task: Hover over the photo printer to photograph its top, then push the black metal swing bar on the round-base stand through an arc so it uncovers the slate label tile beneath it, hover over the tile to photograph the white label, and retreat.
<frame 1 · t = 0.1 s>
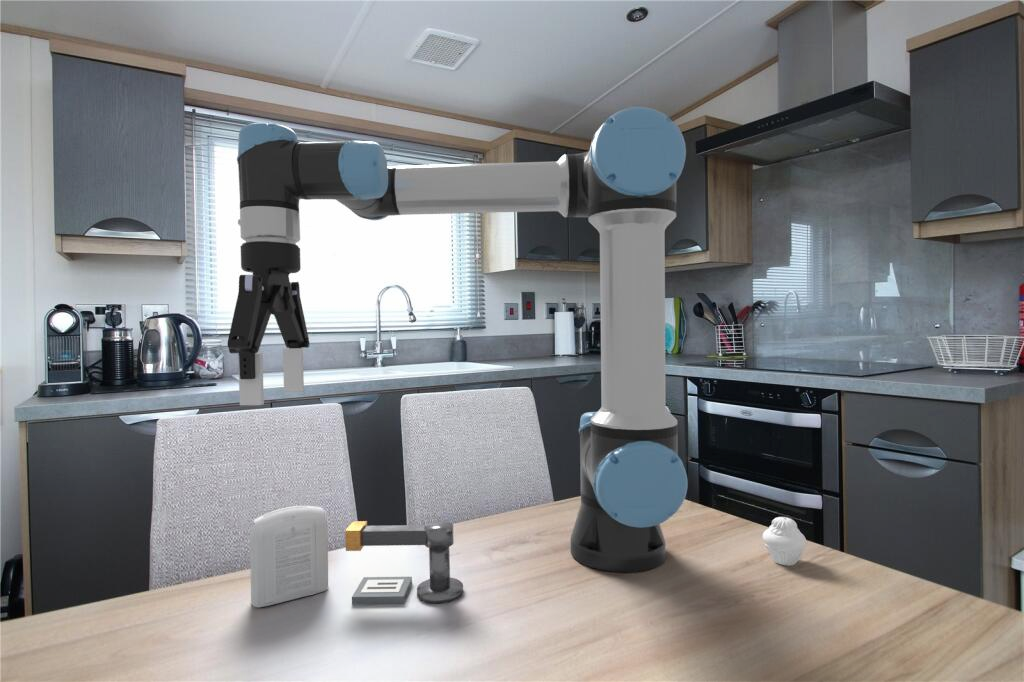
hand: (274, 398, 79), 28 cm above the table, fingers open, 13 cm apart
photo printer: (291, 597, 80), on the table
round-base stand: (440, 592, 80), on the table
muffin: (784, 562, 88), on the table
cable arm: (401, 535, 80), point 8 cm above the table, hinge at 0.0°
label tile: (383, 593, 80), on the table
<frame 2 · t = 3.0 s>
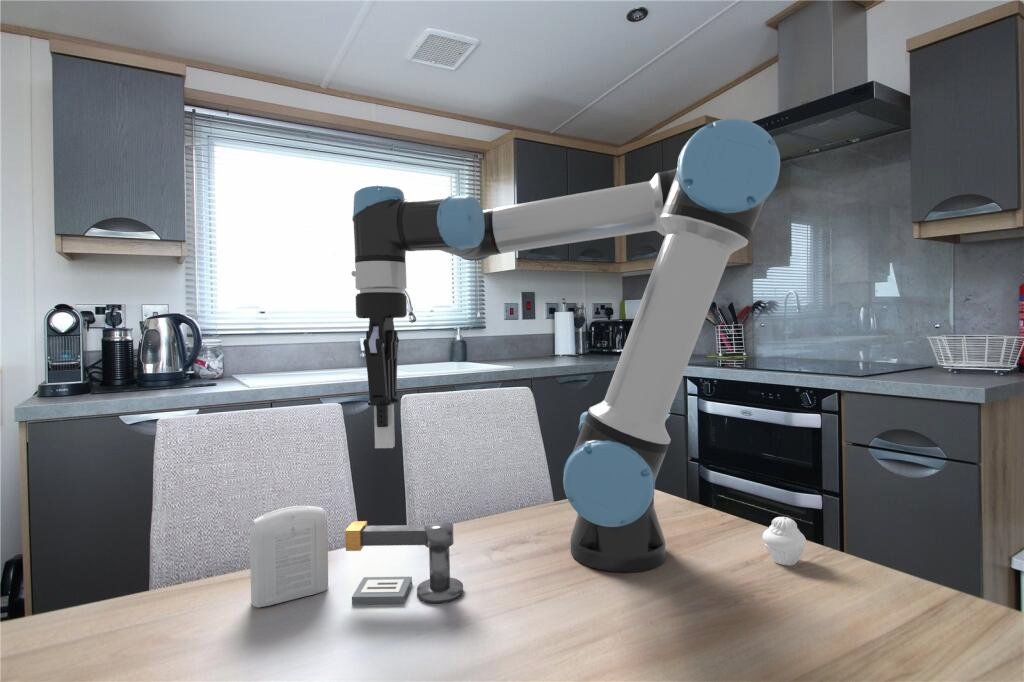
hand: (384, 446, 87), 19 cm above the table, fingers closed
nothing on the table moved.
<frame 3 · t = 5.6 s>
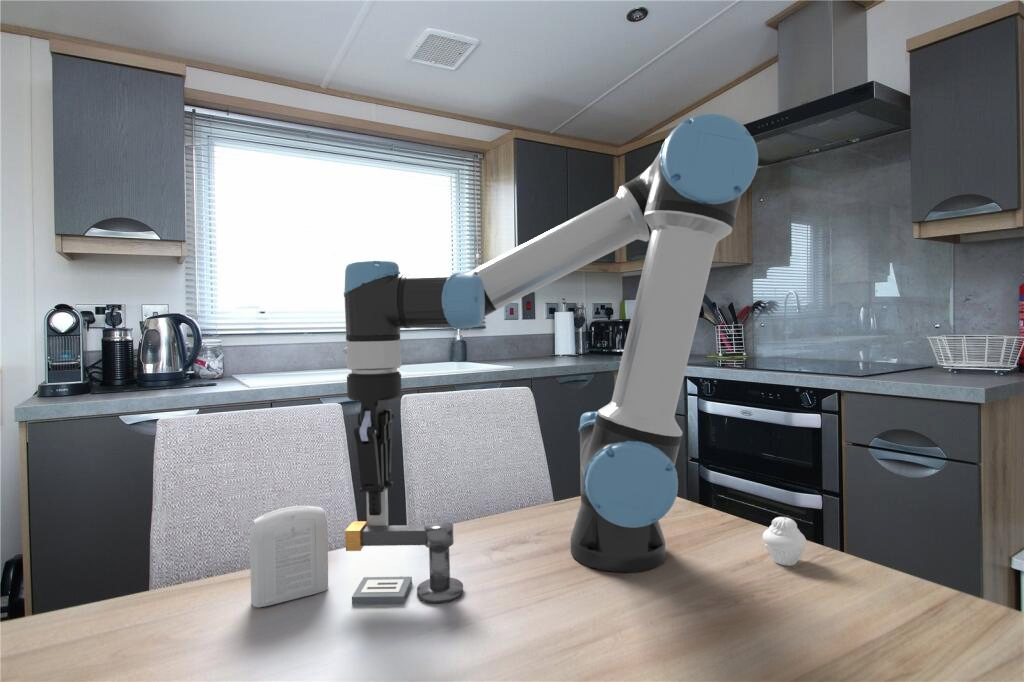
hand: (378, 534, 82), 7 cm above the table, fingers closed
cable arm: (401, 535, 80), point 8 cm above the table, hinge at 0.2°, touching gripper
everything else where it was.
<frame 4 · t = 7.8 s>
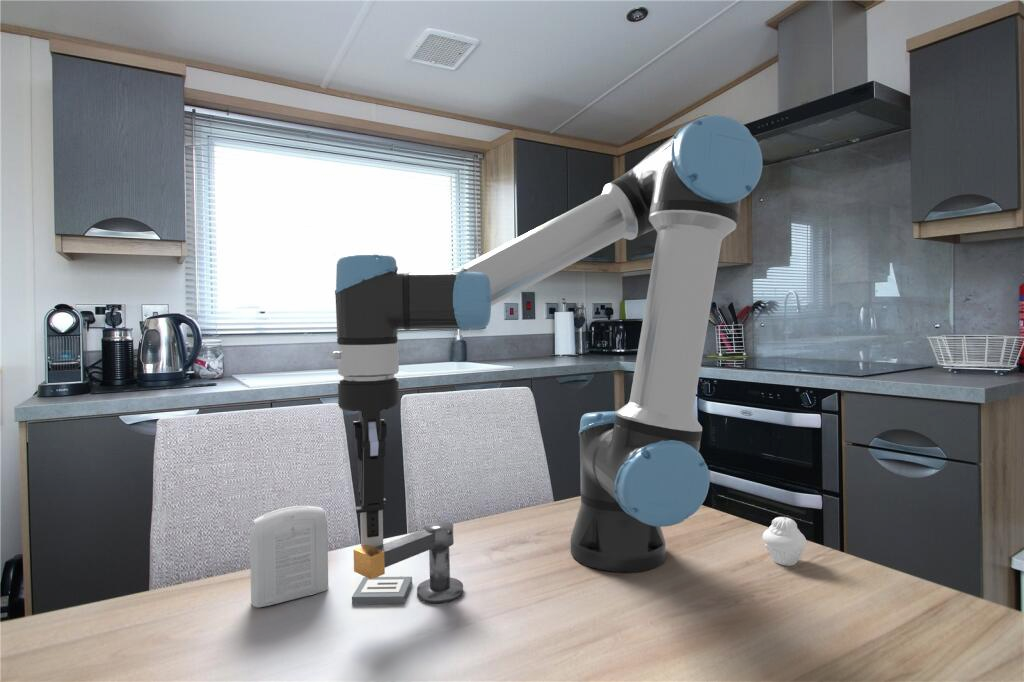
hand: (372, 557, 74), 7 cm above the table, fingers closed
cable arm: (409, 546, 76), point 8 cm above the table, hinge at 49.3°, touching gripper
everything else where it was.
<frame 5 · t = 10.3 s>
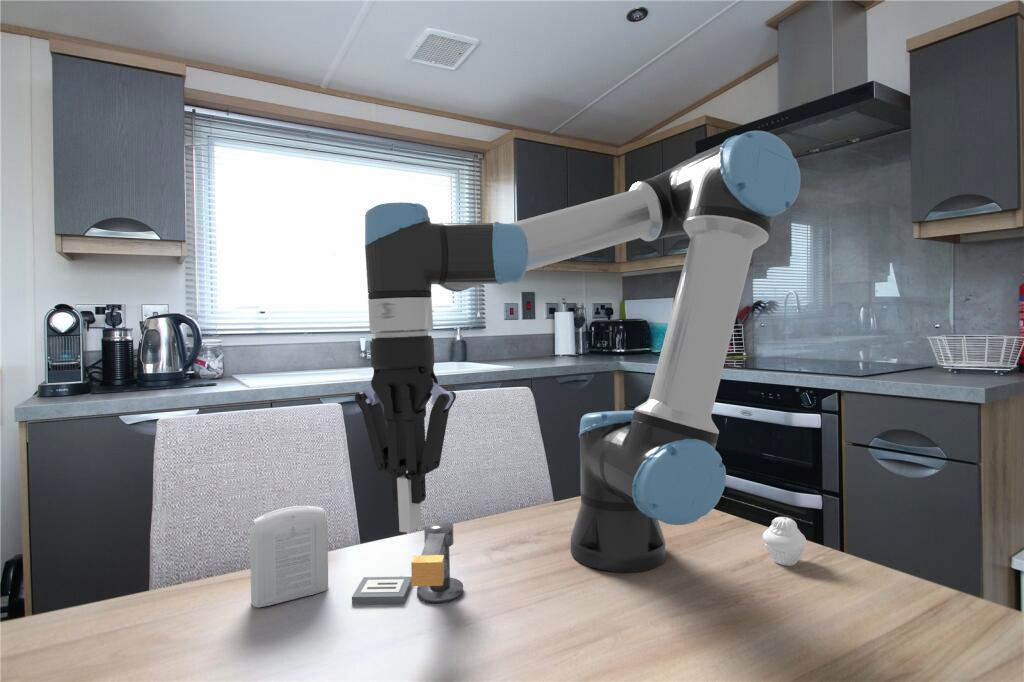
hand: (410, 528, 70), 13 cm above the table, fingers closed
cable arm: (434, 549, 74), point 8 cm above the table, hinge at 91.4°
everything else where it was.
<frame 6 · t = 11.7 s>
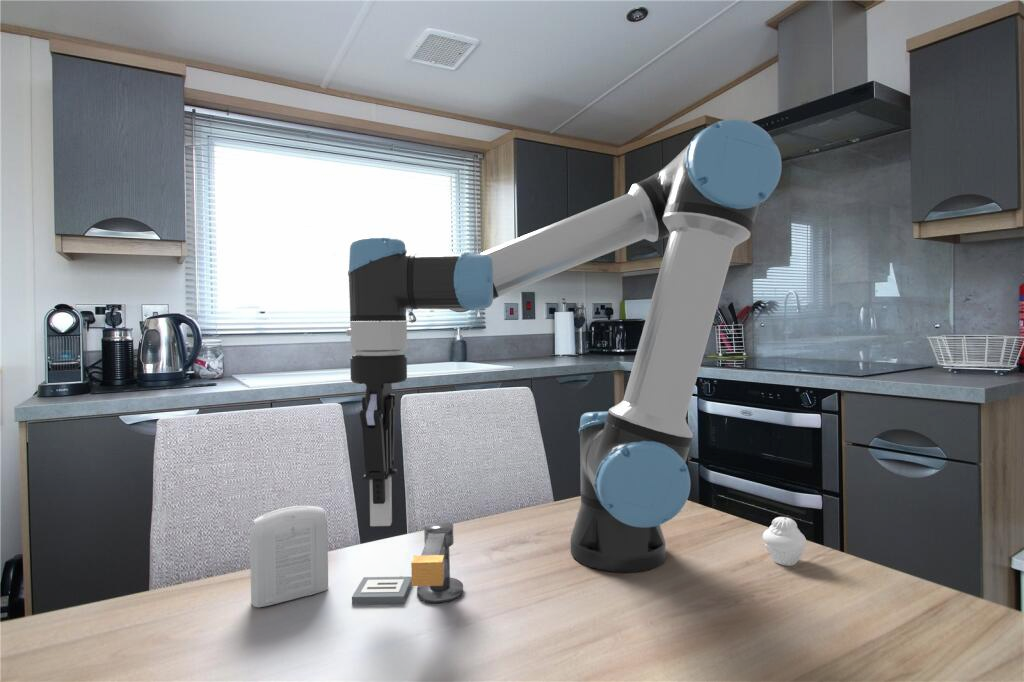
hand: (381, 524, 79), 10 cm above the table, fingers closed
nothing on the table moved.
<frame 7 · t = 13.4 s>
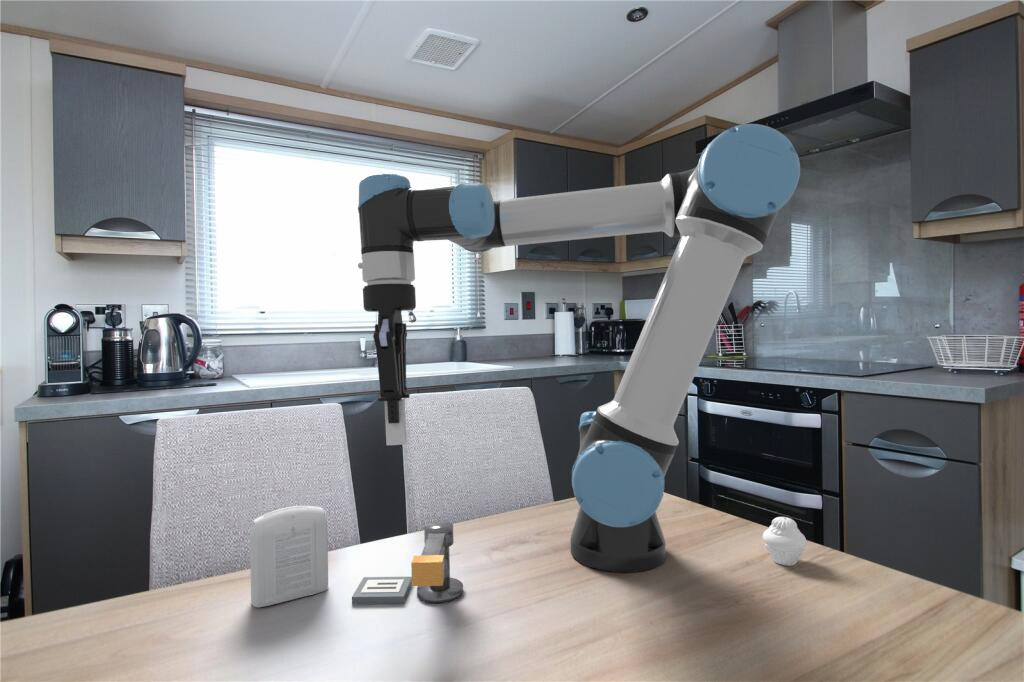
hand: (396, 443, 85), 20 cm above the table, fingers closed
nothing on the table moved.
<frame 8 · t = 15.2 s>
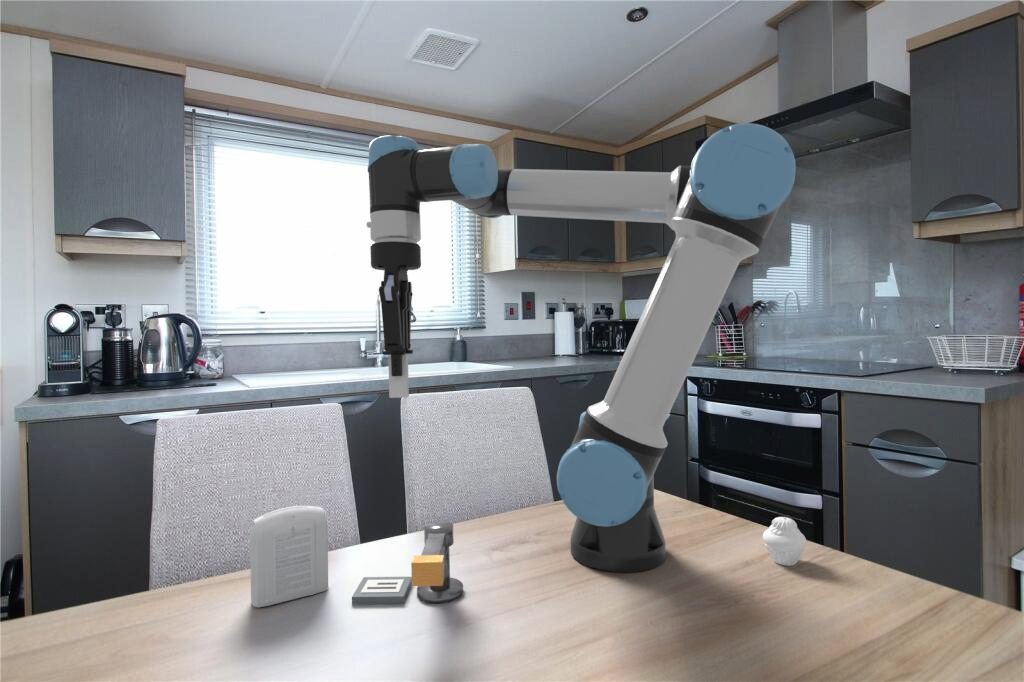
hand: (399, 396, 88), 26 cm above the table, fingers closed
nothing on the table moved.
at the end: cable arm at +91° (first picture: +0°); photo printer moved 0.3 cm from its start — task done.
